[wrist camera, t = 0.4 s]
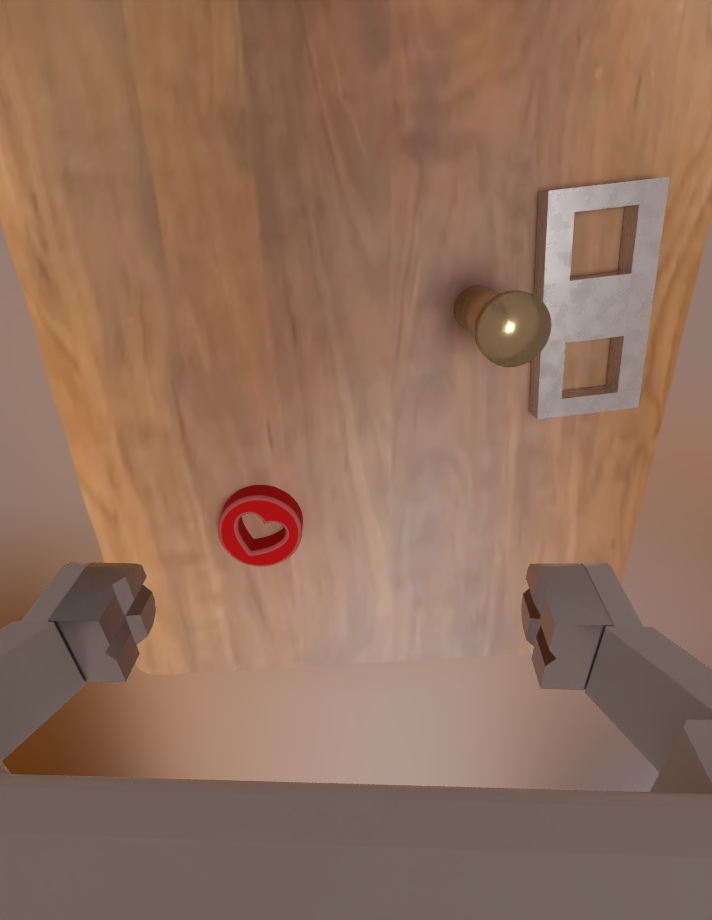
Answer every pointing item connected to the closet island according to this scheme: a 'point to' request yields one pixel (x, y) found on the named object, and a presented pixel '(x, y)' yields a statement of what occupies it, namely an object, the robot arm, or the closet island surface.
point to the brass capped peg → (504, 324)
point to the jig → (596, 295)
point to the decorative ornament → (269, 508)
